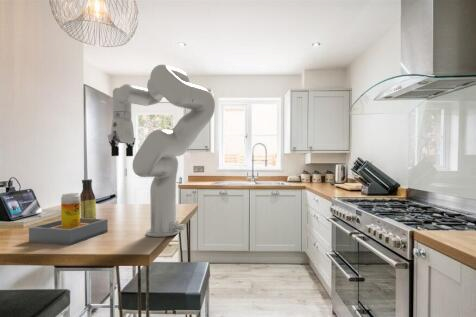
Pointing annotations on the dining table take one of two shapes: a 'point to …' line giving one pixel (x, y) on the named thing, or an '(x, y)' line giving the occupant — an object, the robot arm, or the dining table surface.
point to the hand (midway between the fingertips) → (122, 156)
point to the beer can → (70, 210)
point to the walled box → (67, 231)
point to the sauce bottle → (87, 200)
